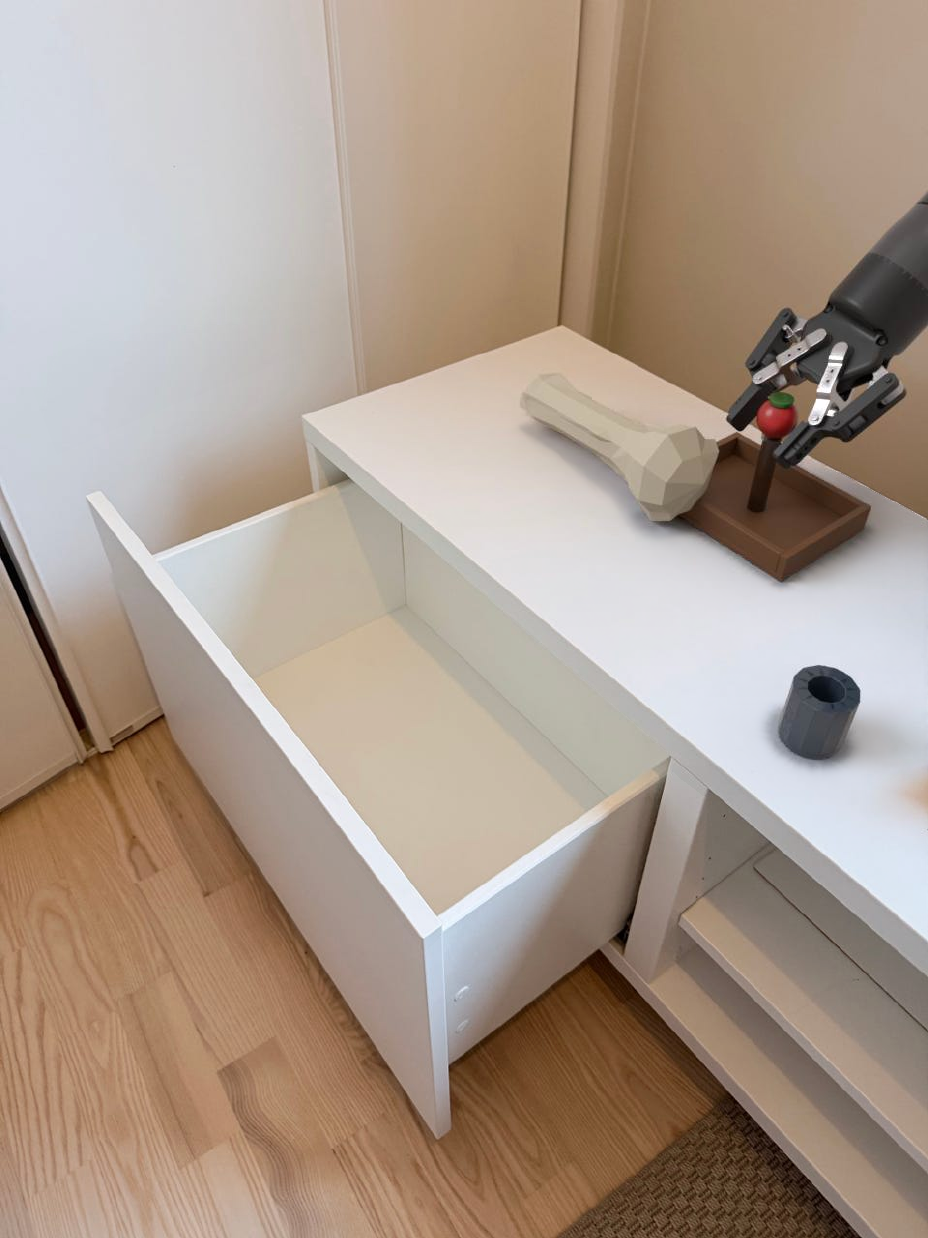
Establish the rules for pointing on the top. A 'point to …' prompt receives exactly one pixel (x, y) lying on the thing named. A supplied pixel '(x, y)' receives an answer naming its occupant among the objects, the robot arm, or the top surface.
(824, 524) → the tray
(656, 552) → the top surface
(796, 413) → the red ball joystick
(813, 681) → the holder
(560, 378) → the faceted club
